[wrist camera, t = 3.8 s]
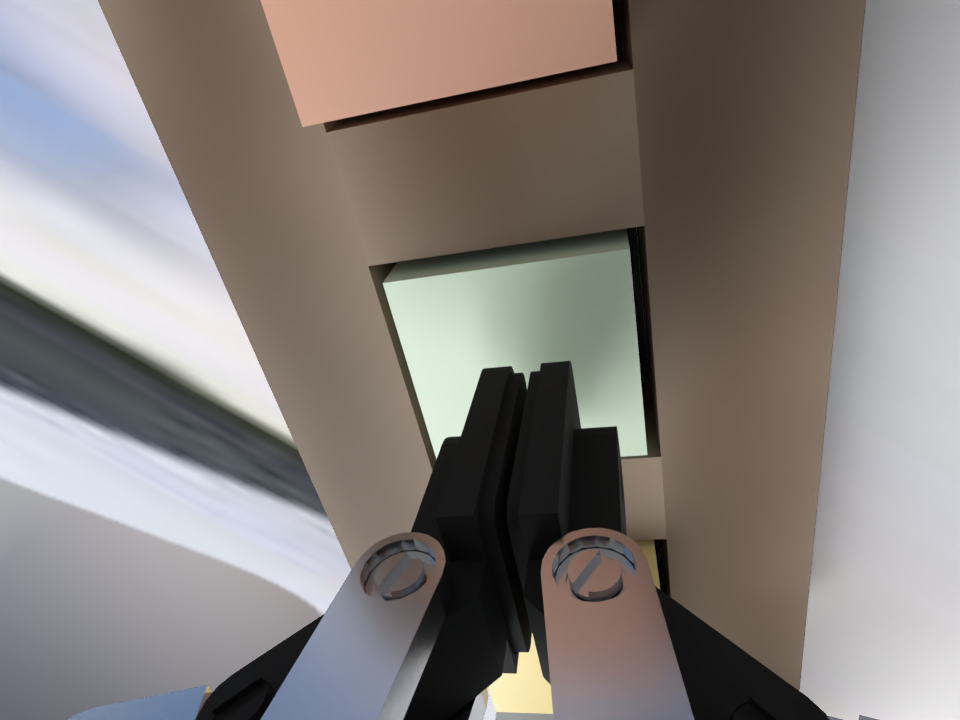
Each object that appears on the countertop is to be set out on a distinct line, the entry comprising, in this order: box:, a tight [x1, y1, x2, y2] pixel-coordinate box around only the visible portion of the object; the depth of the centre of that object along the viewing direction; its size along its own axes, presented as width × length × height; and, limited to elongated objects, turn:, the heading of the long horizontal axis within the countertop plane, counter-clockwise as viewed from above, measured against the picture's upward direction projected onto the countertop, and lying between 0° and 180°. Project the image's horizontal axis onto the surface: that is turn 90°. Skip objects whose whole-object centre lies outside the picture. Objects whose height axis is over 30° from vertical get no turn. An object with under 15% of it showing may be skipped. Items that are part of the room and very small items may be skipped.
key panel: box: [98, 0, 866, 691], centre depth 14 cm, size 12×23×3 cm, turn 12°
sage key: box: [383, 229, 647, 460], centre depth 14 cm, size 5×5×3 cm
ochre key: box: [488, 540, 660, 714], centre depth 17 cm, size 5×5×3 cm
